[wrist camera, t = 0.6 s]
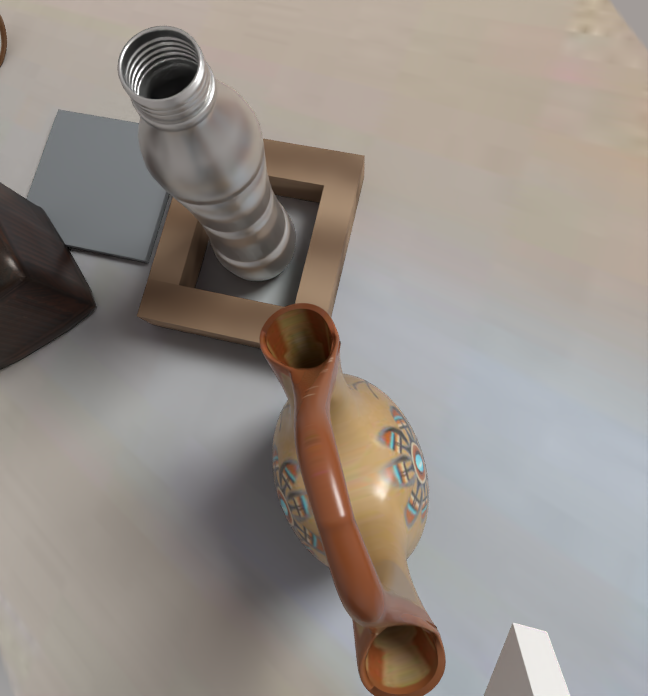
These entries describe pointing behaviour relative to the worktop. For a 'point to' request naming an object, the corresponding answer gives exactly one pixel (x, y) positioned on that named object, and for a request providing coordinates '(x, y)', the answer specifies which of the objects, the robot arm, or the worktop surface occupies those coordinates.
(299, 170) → the brown rectangular frame
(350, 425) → the ceramic vessel
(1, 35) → the tin
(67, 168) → the rubber mat
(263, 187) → the plastic bottle
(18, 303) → the coffee grinder
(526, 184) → the worktop surface
